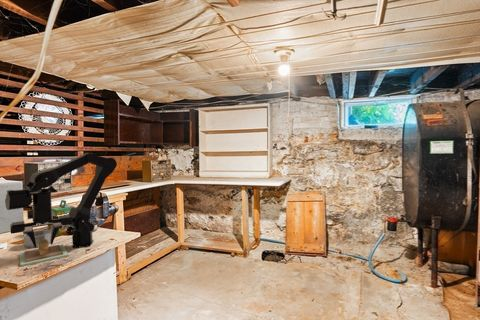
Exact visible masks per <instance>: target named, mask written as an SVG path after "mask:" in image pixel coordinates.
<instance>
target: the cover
mask: <svg viewBox="0 0 480 320" xmlns="http://www.w3.org/2000/svg"><path fill="white" fill-rule="evenodd" d="M59 245H60V244H57V245H56V244H55V245H51V246H49V244H48V241H47V239H46V240H40V241H39V247H38V248H35V249H31V250H30V249H29V250H24V252H25V258H26V262H30V261H35V260H39V259H44V258H49V257H53V256H58V255H63V252H62V250H61V248H60V246H59Z"/></svg>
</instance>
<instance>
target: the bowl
mask: <svg viewBox="0 0 480 320" xmlns="http://www.w3.org/2000/svg"><path fill="white" fill-rule="evenodd" d="M33 231H34V236H35V241H36V248H39V241H40V240H46V239H47V241H48V245H49V244H50V245H51V230H48V229H42V230H40V229H39V230H33ZM23 243H24V247H25V248H27V249H33V248H35V247H34V245H33V243H32V241H31V239H30V237H29V236H28V235H27V234H23ZM36 248H35V249H36Z"/></svg>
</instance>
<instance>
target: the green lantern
mask: <svg viewBox="0 0 480 320" xmlns="http://www.w3.org/2000/svg"><path fill="white" fill-rule="evenodd" d="M72 207H74V206H73V205H70V204H69V205H68V204H67V200H64V199H61V200H60V204H59V205H58V206H52V220H53V216H57V215H62V214H67V213H70V210H71V208H72ZM48 223H49V222H48ZM52 225H53V224H52ZM52 225H47V230H51V231H52ZM66 231H67V229H60V230H58V232H57V234H56V235H58V234H61V233H66ZM67 232H68V231H67Z"/></svg>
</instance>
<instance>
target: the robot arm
mask: <svg viewBox="0 0 480 320" xmlns="http://www.w3.org/2000/svg"><path fill="white" fill-rule="evenodd" d="M89 164H91V165H92V166H93V165H94V166H95V169H94V170H95V173H94V176H93V178H92V179H91V182H90V184H89V186H88V187H87V189H86V191H85V193H84V195H83V197H82V199H81V201H80V203H79V205H78V206H77V207H76V206H75V208H71V210H70V213H69V214H68V215H64V216H59V219H53V220H52V207H53V205H52V194H53V193H58V189H56V188H55V187H54V186H52V185H53V184H55V183H56V182H57V181H58V180H60V178H62V177H63V176H65V175H67V174H69V173H71V172H74V171H75V170H77V169H80V168H82V167H84V166H85V165H89ZM117 166H118V163H117V160H116V158H113V157H110V156H109V157H106V156H101V155H98V154H93V153H92V152H84V153H82V154H81V155H78V156H77V157H75V158H72V159H70V160H68V161H65V162H64V163H62V164H59V165H57V166H55V167H51V168H48V169H43V170H42V169H41V170H39V171H35V172H34V173H32V174H31V175H30V176H29V177H30V179H29V180H28V182H27V184H26V185H25V186H24V188H23V189H8V190H6V194H5V198H4V204H5V205H4V206H5V208H6V210H7V211H11V210H12V211H13V210H18V209H25V208H29V207H30V206H31V205H32V209H30V210H27V211H26V213H27V216H26V217H27V220H31V219H32V222H26V223H25V221H24V220H22V221H16V222H11V223H10V226H9V227H10V228H9V229H10V234H18V233H19V234H21V233H22V234H23V235H24V234H27V235H28V236H29V237H30V239H31V241H32V243H33V245H34V247H35V249H37V247H36V241H35V236H34V231H35V230H34V228H37V227H38V228H39V227H44V226H48V225H52V224H53V225H52V231H51V243H50V245H51V246H53V244H54V241H55V238H56V236H57V235H58V234H57V232H58V230H59V229H60V228H62V225H69V226H71V227H72V228H73V230H72V231H73V234H72V239H71V240H72V241H71V242H72V248H73V249H74V248H86V247H91V245H92V244H93V243H94V239H93V231H94V229H95V228H96V226H95V225H94V224H93V223H92V222H90V218H91V213H92V212H91V211H92V207H93V206H94V203H95V201H96V199H97V197H98V196H99V193H100V191H101V190H102V187H103V186H104V184H105V181H106V180H107V178H108V177H109V176H110V175H112V173H113V172H114V171H115V169H116V168H117ZM48 222H49V223H48Z"/></svg>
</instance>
